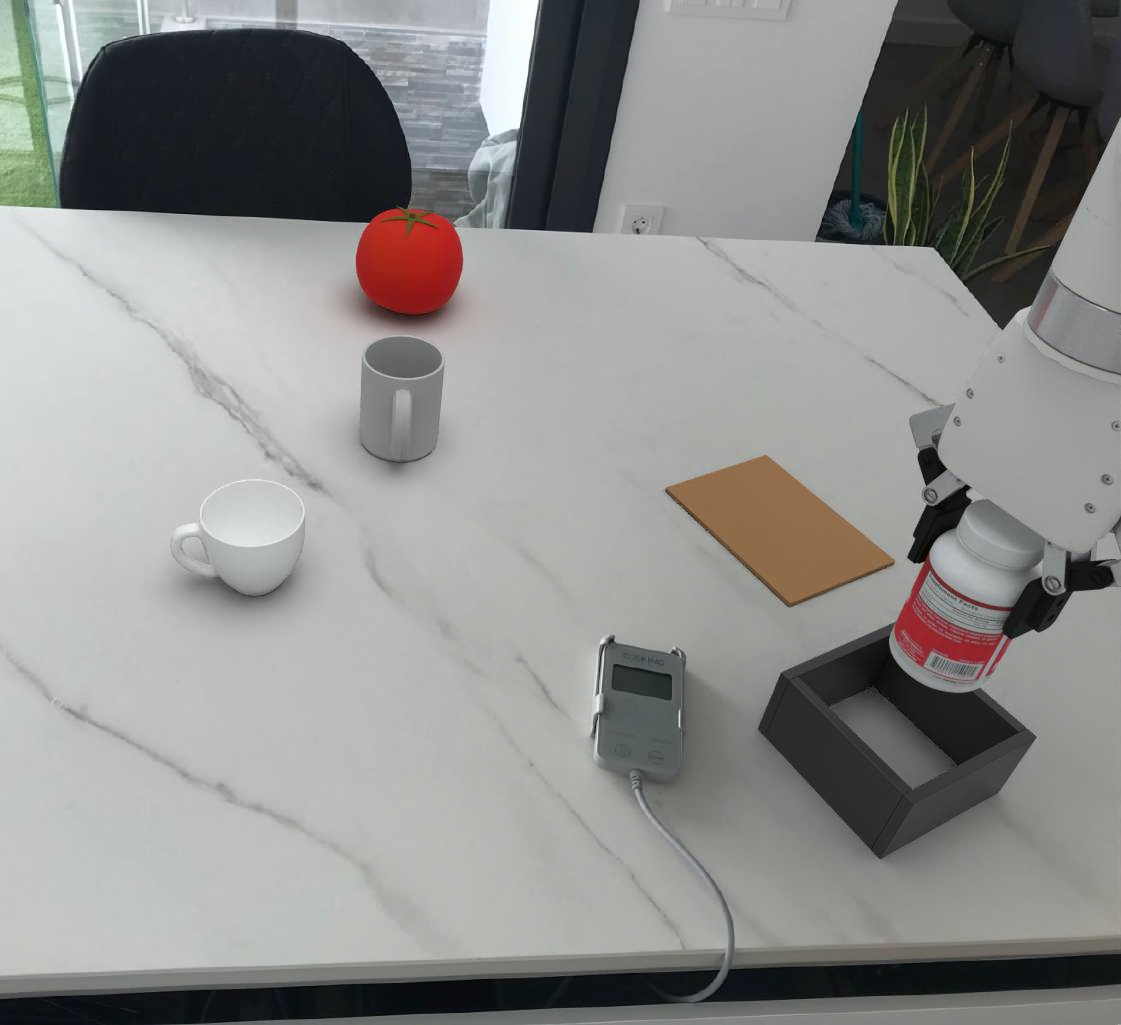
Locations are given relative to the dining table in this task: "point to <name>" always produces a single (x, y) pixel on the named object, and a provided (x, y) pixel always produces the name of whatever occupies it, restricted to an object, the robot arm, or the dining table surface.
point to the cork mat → (779, 529)
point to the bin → (859, 773)
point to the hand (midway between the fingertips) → (973, 589)
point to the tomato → (409, 260)
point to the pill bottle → (966, 599)
